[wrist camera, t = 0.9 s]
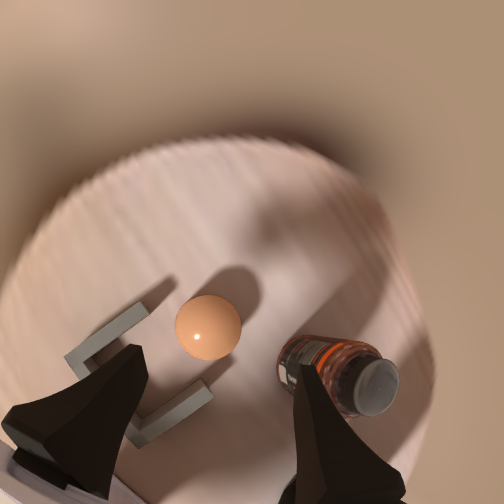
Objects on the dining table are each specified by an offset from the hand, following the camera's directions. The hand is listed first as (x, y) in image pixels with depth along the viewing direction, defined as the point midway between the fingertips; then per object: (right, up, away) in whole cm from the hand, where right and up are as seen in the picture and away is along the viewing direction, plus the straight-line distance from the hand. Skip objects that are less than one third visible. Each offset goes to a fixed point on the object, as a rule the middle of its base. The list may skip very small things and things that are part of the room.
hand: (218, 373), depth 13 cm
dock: (-8, -5, +10) cm, 14 cm away
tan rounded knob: (-3, -1, +13) cm, 13 cm away
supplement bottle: (+6, -5, +15) cm, 17 cm away
